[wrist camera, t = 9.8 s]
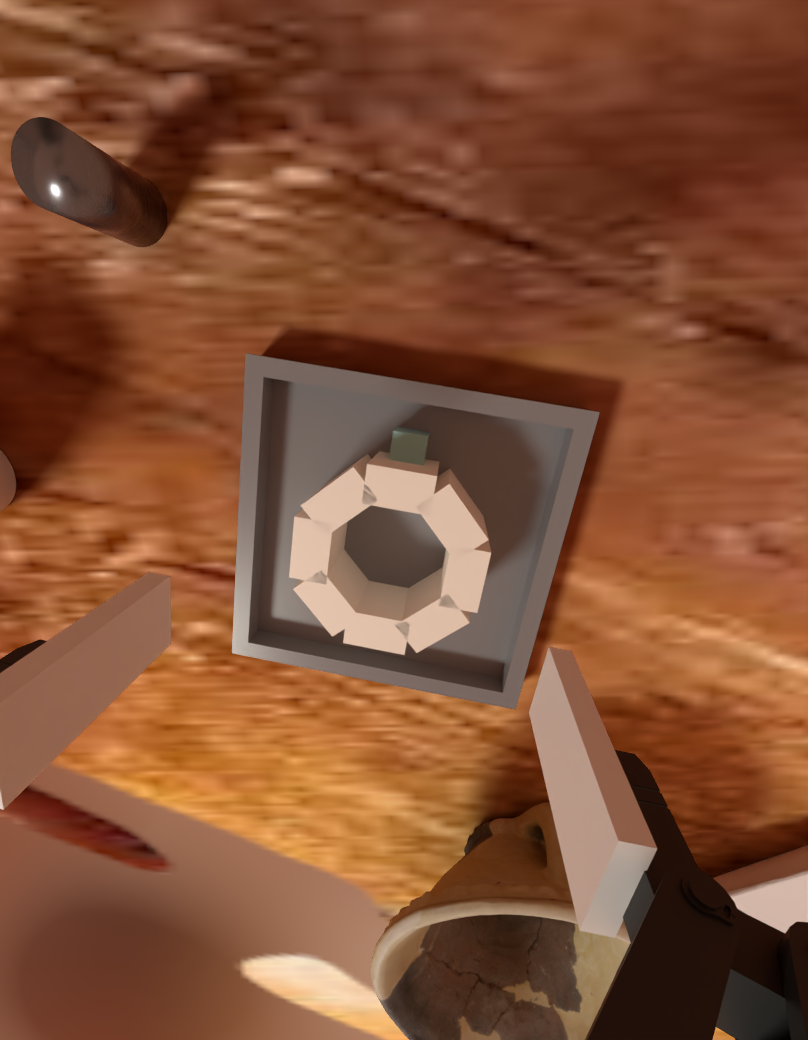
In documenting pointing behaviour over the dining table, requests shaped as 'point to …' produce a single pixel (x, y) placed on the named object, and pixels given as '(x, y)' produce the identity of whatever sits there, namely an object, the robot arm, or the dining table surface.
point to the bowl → (497, 945)
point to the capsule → (85, 183)
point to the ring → (377, 606)
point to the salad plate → (772, 889)
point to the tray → (403, 517)
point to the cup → (6, 482)
